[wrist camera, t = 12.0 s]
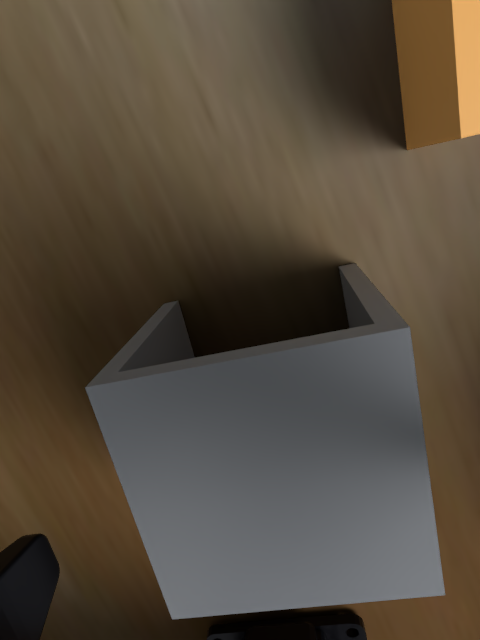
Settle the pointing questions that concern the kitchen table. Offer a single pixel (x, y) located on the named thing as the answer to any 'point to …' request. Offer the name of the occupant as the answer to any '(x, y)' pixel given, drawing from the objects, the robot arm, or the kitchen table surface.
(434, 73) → the orange cube
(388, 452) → the grey bracket
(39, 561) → the robot arm
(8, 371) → the kitchen table surface
